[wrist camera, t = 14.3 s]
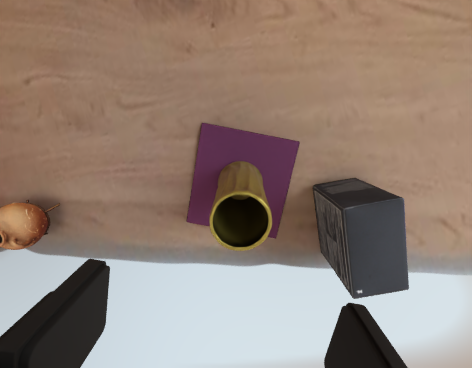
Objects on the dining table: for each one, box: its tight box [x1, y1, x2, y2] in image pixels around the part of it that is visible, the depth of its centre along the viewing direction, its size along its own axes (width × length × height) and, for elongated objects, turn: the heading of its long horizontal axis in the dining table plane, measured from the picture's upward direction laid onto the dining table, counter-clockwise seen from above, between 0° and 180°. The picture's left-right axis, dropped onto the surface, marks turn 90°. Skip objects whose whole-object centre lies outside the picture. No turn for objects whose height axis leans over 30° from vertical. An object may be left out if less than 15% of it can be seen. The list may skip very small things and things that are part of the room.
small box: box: [313, 178, 409, 299], centre depth 31 cm, size 11×6×10 cm, turn 11°
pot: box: [0, 200, 60, 250], centre depth 33 cm, size 6×8×6 cm
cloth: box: [187, 123, 299, 238], centre depth 35 cm, size 14×13×1 cm
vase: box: [209, 161, 272, 251], centre depth 28 cm, size 6×6×14 cm
